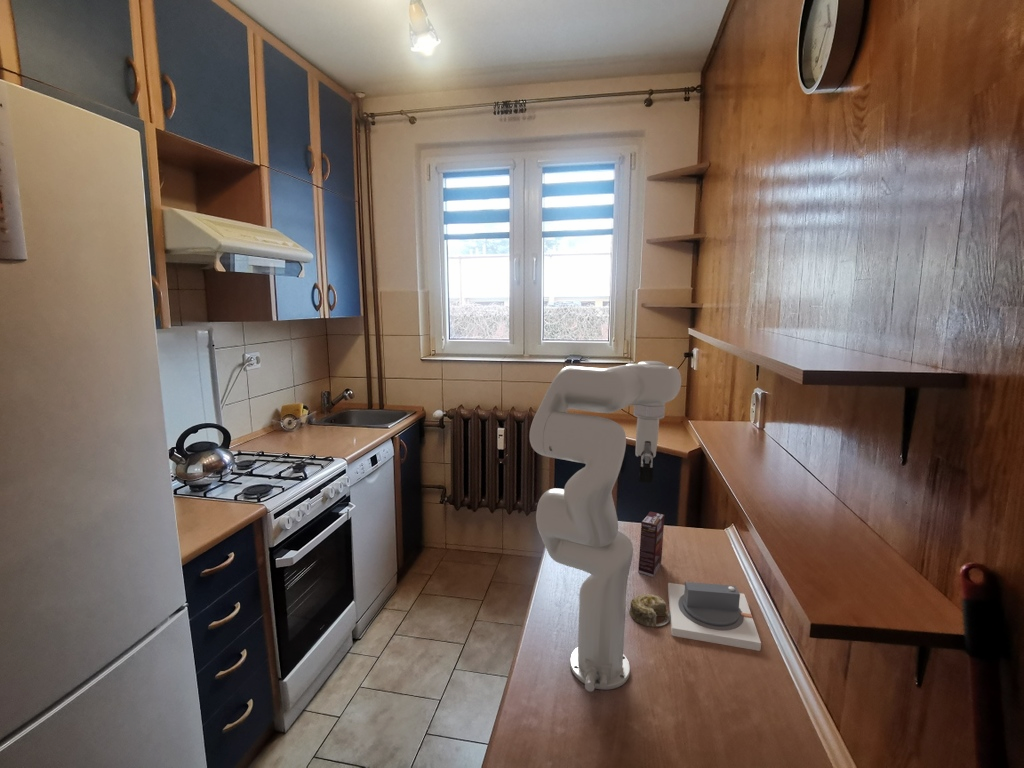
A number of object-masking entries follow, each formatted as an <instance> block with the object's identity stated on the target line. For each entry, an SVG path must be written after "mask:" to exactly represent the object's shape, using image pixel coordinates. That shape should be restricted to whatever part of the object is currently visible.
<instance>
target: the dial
mask: <svg viewBox="0 0 1024 768" xmlns="http://www.w3.org/2000/svg"><path fill="white" fill-rule="evenodd" d="M684 585H685V591H684V596H683V607H684V609H685V611H686V612H687V613H688V614H689V615H690V616H691V617H693V618H694V619H696V620H698V621H700V622H702V623H705V624H708V625H713V626H730V625H733V624H735V623H736V622H737V621H738V619H739V613H740V611H739V600H740V591H739V589H738V588H737V586H736V585H731V584H730V585H728V584H716V583H704V582H694V581H693V582H691V581H684Z"/></svg>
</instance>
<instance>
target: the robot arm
mask: <svg viewBox="0 0 1024 768" xmlns="http://www.w3.org/2000/svg"><path fill="white" fill-rule="evenodd" d="M681 375H682V374H681V372H680V370H679V369H678V368H677V367H675V366H672V365H666V363H665V362H662V361H657V360H642V361H639V362H637V363H627V364H623V365H617V366H610V367H587V366H577V365H568V366H565V367H563V368H562V369H561V370H560V371H559V372H558V373H557V374H556V375H555V376H554V378H553V379H552V381H551V383H550V385H549V387H548V388H547V390H546V392H545V395H544V397H543V399H542V401H541V402H540V404H539V407H538V409H537V410H536V412H535V415H534V417H533V419H532V422H531V425H530V429H529V443H530V446H531V448H532V449H533V451H534V452H536V453H537V454H538V455H541V456H542V457H543V456H544V457H548V458H551V459H553V458H554V459H559V460H565V461H570V462H575V463H580V464H585V466H584V467H582V468H581V469H579V470H577V471H576V472H575V473H574V474H573V475H572V476H571V477H570V478H569V479H568V480H567V482H566V483H565V485H564V488H558V487H557V488H556V487H554V488H550V489H548V490H545V492H544V493H542V495H541V496H540V498H539V499H538V502H537V507H536V513H535V519H536V520H535V521H536V527H537V531H538V532H539V535H540V538H541V540H542V543H543V545H544V546H545V548H546V551H547V553H548V556H549V557H550V558H551V559H552V560H553V561H554V562H556V563H559V564H561V565H564V566H566V567H569V568H573V569H576V570H579V571H583V572H585V573H587V574H590V575H589V576H588V577H586V579H585V580H584V581H583V583H582V584H581V586H580V589H579V593H578V594H579V597H578V599H579V600H578V602H579V604H578V634H577V635H578V638H577V639H578V640H577V647H575V649H573V651H572V653H571V655H570V659H569V663H570V664H569V667H570V669H571V671H572V674H573V675H574V677H575V678H576V679H577V680H578V681H580V682H581V683H583V684H584V688H585V690H586V691H587V692H594V691H595V689H598V690H613V689H617V688H619V687H621V686H623V685H624V684H625V683H626V682H627V681H628V679H629V677H630V672H631V665H630V662H629V660H628V658H627V656H626V655H625V653H624V647H625V646H624V643H625V624H626V623H625V622H626V606H627V605H626V604H627V603H626V602H627V587H628V581H629V574H630V570H631V565H632V560H633V555H634V546H633V543H632V540H631V539H630V538H629V537H628V535H626V534H625V533H623V532H621V531H619V520H618V515H617V510H616V507H615V502H614V499H613V494H612V491H613V488H614V487H615V484H616V482H617V479H618V477H619V475H620V472H621V468H622V466H623V461H624V458H625V453H626V447H627V436H626V432H625V429H624V428H623V427H622V425H620V424H619V423H618V422H616V421H615V420H612V419H609V418H607V417H602V416H597V415H591V414H581V413H575V412H573V413H572V412H568V410H577V411H584V412H591V413H592V412H593V413H601V414H602V413H603V414H610V413H615V412H619V411H620V410H622V409H625V408H627V407H629V406H633V416H634V417H636V418H637V419H636V430H635V431H636V432H635V456H636V457H637V458H638V457H639V467H638V468H639V474H638V475H639V477H638V480H639V482H640V483H653V477H654V466H653V463H654V462H653V459H654V458H655V457H656V455H657V448H658V439H659V430H660V429H659V428H660V427H659V426H660V420H662V419H664V418H665V413H666V412H665V411H666V403H668V402H671V401H673V400H674V399H675V398H677V397H678V395H679V393H680V391H681V386H682V376H681Z"/></svg>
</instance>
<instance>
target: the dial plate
mask: <svg viewBox="0 0 1024 768" xmlns="http://www.w3.org/2000/svg"><path fill="white" fill-rule="evenodd" d="M684 591H685V584H680V583H673V582H668V583H667V594H668V595H667V596H668V607H669V615H670V620H669V622H670V633H671V636H673V637H677V638H684V639H689V640H695V641H701V642H707V643H713V644H719V645H724V646H730V647H733V648H734V647H735V648H741V649H747V650H753V651H757V652H758V651H759V652H761V647H762V642H761V638H760V635H759V633H758V629H757V627H756V624H755V621H754V619H753V615H752V611H751V610H750V606H749V603H748V601H747V598H746V595H745V593H740V592H739V593H740V600H739V611H740V613H739V619H738V621H737V622H736V623H735V624H733V625H730V626H713V625H708V624H705V623H702V622H700V621H698V620H696V619H694V618H693V617H691V616H690V615H689V614H688V613H687V612H686V611H685V609H684V607H683V596H684Z"/></svg>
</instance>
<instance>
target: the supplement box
mask: <svg viewBox="0 0 1024 768" xmlns="http://www.w3.org/2000/svg"><path fill="white" fill-rule="evenodd" d="M640 525H641V526H640V542H639V555H638V556H639V557H638V570H637V573H639V574H640V575H645V576H648V577H652V578H654V577H655V575H656V574H657V572H658V570H659V568H660V567H661V565H662V557H663V546H664V545H663V543H664V530H665V529H664V527H665V514H662V513H659V512H654V511H649V512H648V514H647V515H646V517H645V518H644V519H642V521H641V524H640Z"/></svg>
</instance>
